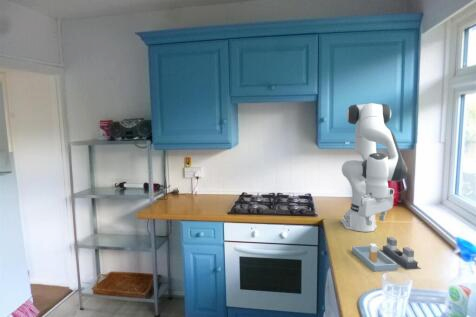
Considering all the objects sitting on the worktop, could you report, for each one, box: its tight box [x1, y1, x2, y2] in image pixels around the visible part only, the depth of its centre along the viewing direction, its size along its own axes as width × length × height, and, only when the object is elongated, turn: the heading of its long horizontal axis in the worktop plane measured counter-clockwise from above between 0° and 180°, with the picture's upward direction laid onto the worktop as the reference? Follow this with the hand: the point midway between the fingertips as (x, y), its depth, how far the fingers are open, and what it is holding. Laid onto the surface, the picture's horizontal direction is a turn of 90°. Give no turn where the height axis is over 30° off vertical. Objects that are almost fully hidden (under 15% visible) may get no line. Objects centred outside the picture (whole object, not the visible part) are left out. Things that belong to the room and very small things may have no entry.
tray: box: [351, 245, 399, 273], centre depth 142 cm, size 20×10×4 cm, turn 6°
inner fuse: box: [386, 236, 398, 250], centre depth 149 cm, size 4×2×7 cm, turn 6°
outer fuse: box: [402, 246, 415, 262], centre depth 137 cm, size 4×2×7 cm, turn 6°
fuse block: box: [379, 245, 422, 271], centre depth 144 cm, size 20×7×4 cm, turn 6°
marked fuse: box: [369, 242, 378, 262], centre depth 142 cm, size 4×2×7 cm, turn 168°
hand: (375, 222), depth 141 cm, fingers open, 8 cm apart
